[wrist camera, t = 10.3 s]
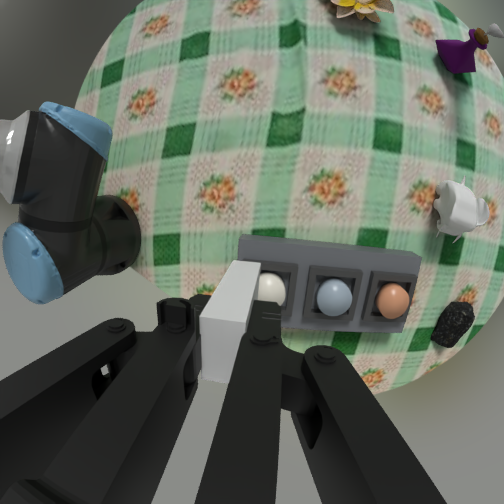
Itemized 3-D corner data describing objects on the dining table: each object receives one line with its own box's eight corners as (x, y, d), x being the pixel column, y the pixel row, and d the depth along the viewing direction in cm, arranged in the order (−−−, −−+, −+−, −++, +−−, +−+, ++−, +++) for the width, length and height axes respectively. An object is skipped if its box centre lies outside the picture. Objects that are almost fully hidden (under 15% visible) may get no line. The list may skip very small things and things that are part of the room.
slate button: (313, 307, 41) (315, 315, 39) (318, 276, 40) (320, 282, 37) (344, 309, 41) (348, 317, 38) (351, 279, 39) (355, 285, 37)
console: (237, 311, 48) (232, 326, 43) (242, 234, 44) (237, 241, 39) (394, 322, 45) (404, 336, 40) (411, 251, 42) (426, 260, 37)
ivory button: (249, 301, 42) (248, 308, 40) (252, 270, 41) (250, 275, 38) (283, 305, 42) (283, 312, 39) (287, 273, 40) (287, 279, 38)
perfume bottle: (445, 78, 32) (499, 49, 15) (428, 45, 31) (473, 8, 14) (467, 75, 31) (519, 51, 14) (451, 45, 30) (496, 13, 12)
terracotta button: (372, 311, 40) (376, 318, 38) (379, 281, 39) (384, 287, 37) (398, 312, 40) (404, 319, 38) (406, 283, 39) (412, 289, 36)
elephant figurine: (417, 232, 41) (443, 243, 32) (430, 167, 38) (458, 165, 29) (454, 243, 40) (481, 255, 32) (467, 183, 37) (495, 185, 29)
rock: (426, 340, 46) (437, 354, 40) (445, 296, 43) (459, 308, 38) (448, 342, 46) (460, 355, 40) (466, 300, 43) (480, 311, 37)
